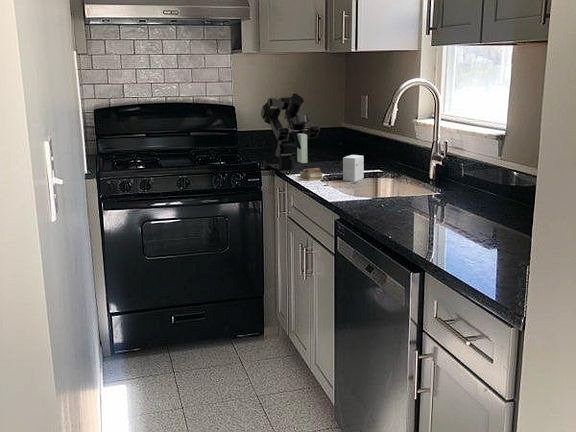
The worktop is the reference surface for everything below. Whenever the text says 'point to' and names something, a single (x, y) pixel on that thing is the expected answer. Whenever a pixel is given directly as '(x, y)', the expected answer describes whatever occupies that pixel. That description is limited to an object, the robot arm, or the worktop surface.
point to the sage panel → (302, 148)
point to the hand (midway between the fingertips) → (303, 148)
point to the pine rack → (311, 174)
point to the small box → (353, 168)
